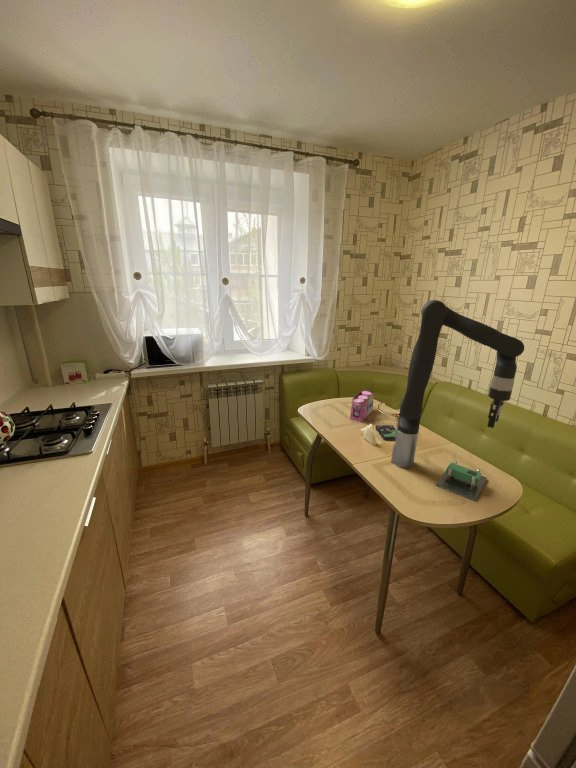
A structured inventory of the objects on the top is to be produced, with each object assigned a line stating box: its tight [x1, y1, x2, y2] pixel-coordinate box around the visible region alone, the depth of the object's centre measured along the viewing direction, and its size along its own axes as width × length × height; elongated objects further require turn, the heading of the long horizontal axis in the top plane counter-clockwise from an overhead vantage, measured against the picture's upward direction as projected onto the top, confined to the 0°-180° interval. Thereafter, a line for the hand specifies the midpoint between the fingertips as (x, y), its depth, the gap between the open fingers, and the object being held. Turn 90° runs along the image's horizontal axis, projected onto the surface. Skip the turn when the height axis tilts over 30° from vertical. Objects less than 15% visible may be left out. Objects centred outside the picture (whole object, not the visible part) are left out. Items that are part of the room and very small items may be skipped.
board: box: [445, 462, 482, 485], centre depth 135 cm, size 12×6×3 cm, turn 48°
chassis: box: [435, 460, 488, 502], centre depth 135 cm, size 15×20×6 cm
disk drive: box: [374, 424, 397, 441], centre depth 178 cm, size 10×3×15 cm
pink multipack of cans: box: [349, 389, 375, 423], centre depth 202 cm, size 24×8×14 cm, turn 149°
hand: (492, 423), depth 132 cm, fingers open, 8 cm apart
